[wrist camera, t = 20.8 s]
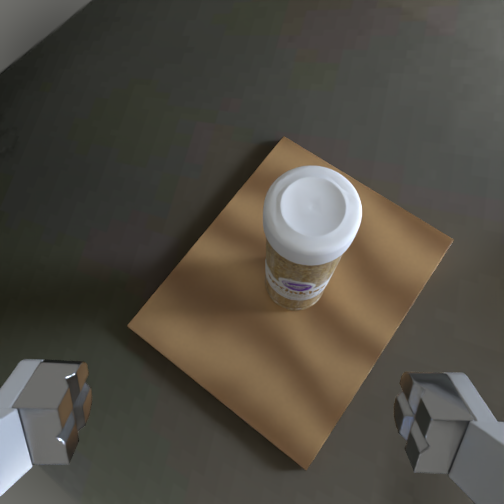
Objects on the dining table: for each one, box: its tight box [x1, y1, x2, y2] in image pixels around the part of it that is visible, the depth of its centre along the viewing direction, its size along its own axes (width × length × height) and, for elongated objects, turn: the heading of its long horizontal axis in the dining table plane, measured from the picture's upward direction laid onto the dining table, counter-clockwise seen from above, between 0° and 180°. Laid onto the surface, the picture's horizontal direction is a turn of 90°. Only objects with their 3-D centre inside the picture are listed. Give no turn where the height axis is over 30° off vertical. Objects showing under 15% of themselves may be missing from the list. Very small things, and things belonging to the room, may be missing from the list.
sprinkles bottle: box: [263, 166, 362, 311], centre depth 26 cm, size 5×5×14 cm
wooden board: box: [127, 137, 453, 470], centre depth 32 cm, size 20×16×1 cm
